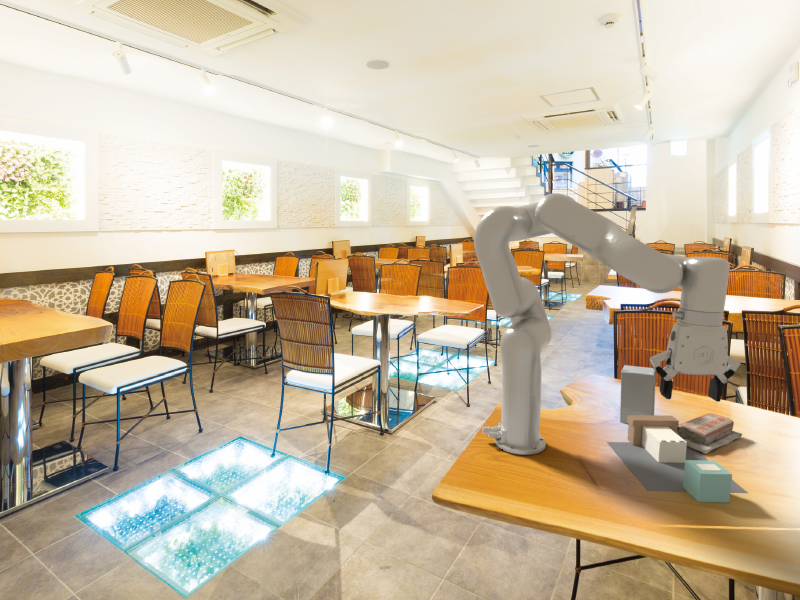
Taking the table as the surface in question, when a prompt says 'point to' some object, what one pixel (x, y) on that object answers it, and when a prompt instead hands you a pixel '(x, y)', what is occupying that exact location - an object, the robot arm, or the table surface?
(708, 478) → the teal cube
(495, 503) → the table surface
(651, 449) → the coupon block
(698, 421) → the packaged product
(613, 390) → the table surface
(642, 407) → the skincare box
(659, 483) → the mat
